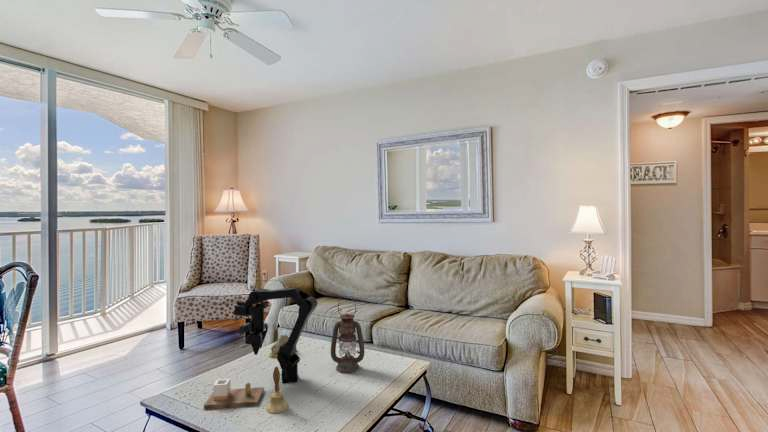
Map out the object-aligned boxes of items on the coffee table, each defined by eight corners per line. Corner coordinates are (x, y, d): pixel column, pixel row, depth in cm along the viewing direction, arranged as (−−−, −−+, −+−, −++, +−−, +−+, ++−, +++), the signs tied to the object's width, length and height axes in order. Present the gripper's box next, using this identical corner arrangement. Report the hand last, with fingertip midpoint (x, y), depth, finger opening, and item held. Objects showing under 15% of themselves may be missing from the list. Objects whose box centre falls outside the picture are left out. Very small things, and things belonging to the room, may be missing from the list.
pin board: (263, 390, 156) (263, 375, 156) (257, 405, 144) (257, 389, 144) (214, 393, 154) (214, 378, 154) (203, 409, 142) (203, 392, 142)
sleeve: (230, 393, 151) (230, 378, 151) (226, 399, 146) (226, 384, 146) (217, 394, 151) (217, 379, 151) (213, 400, 146) (213, 385, 146)
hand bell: (282, 414, 138) (281, 372, 137) (261, 412, 139) (261, 370, 139) (292, 403, 146) (291, 363, 145) (272, 401, 147) (272, 361, 147)
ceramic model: (281, 360, 189) (281, 340, 189) (265, 356, 194) (264, 337, 193) (299, 350, 201) (299, 332, 201) (283, 347, 206) (282, 329, 206)
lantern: (363, 373, 172) (363, 298, 172) (329, 373, 172) (328, 299, 172) (365, 363, 183) (364, 293, 183) (332, 364, 183) (331, 293, 183)
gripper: (244, 312, 178) (245, 344, 178) (233, 323, 159) (234, 359, 159) (268, 311, 179) (268, 343, 179) (260, 322, 160) (260, 358, 161)
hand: (258, 350), depth 169 cm, fingers open, 9 cm apart
